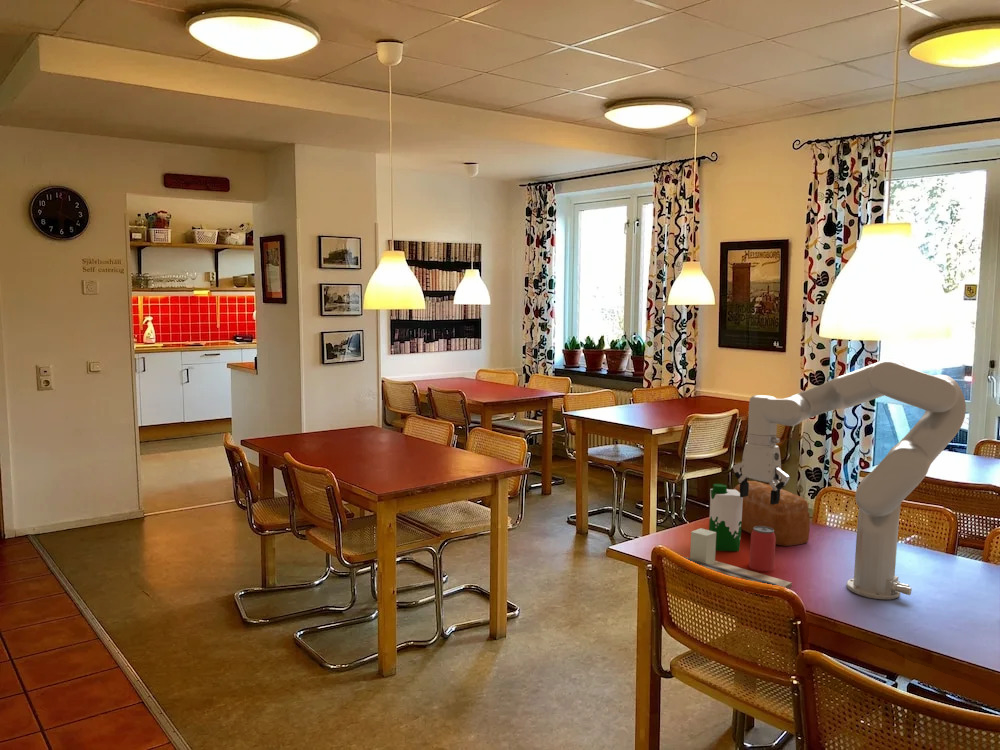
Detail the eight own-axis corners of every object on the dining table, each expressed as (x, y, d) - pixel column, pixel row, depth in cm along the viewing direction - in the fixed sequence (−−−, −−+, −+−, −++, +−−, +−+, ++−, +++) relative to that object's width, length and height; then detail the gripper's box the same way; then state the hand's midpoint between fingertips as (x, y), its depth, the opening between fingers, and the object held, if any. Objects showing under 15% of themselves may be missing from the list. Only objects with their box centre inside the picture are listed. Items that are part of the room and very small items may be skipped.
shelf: (791, 586, 202) (792, 575, 202) (774, 596, 195) (774, 584, 195) (698, 559, 222) (698, 549, 222) (679, 567, 215) (679, 556, 215)
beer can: (777, 570, 214) (780, 529, 212) (767, 576, 209) (770, 534, 208) (755, 564, 218) (757, 523, 217) (744, 570, 213) (747, 528, 212)
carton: (714, 563, 216) (716, 532, 215) (705, 567, 212) (707, 535, 212) (699, 558, 219) (700, 528, 219) (689, 562, 216) (691, 531, 215)
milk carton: (705, 545, 235) (708, 481, 233) (734, 545, 235) (738, 482, 233) (712, 554, 226) (715, 488, 224) (743, 555, 226) (746, 489, 224)
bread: (778, 548, 234) (781, 498, 232) (723, 523, 258) (726, 478, 256) (813, 543, 239) (816, 494, 237) (756, 520, 263) (759, 475, 261)
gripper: (797, 443, 208) (794, 504, 209) (742, 434, 221) (740, 491, 223) (782, 446, 203) (779, 509, 205) (727, 436, 217) (724, 495, 218)
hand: (759, 500), depth 214 cm, fingers open, 9 cm apart
